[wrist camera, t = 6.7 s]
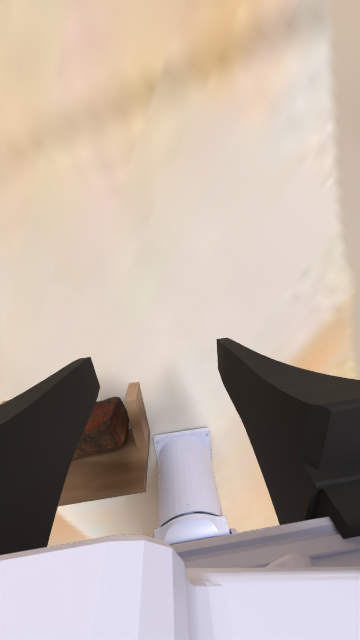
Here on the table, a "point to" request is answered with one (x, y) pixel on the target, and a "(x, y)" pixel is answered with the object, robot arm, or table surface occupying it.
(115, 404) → the brick
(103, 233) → the table surface
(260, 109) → the table surface
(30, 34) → the table surface
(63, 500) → the book rack
